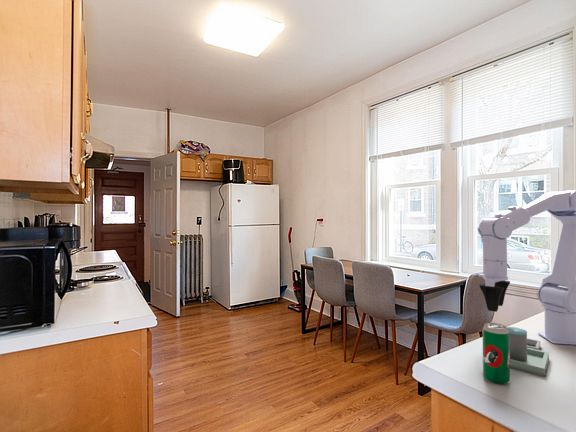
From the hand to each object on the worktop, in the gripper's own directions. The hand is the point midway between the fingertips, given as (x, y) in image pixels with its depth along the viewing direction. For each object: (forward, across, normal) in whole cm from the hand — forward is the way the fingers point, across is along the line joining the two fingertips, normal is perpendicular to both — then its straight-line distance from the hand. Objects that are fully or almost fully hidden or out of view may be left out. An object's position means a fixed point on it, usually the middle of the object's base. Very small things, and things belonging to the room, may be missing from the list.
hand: (495, 308), depth 91 cm
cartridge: (+10, +8, +6) cm, 14 cm away
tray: (+10, +8, +6) cm, 14 cm away
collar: (+10, -4, +6) cm, 13 cm away
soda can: (+11, +23, +4) cm, 26 cm away
